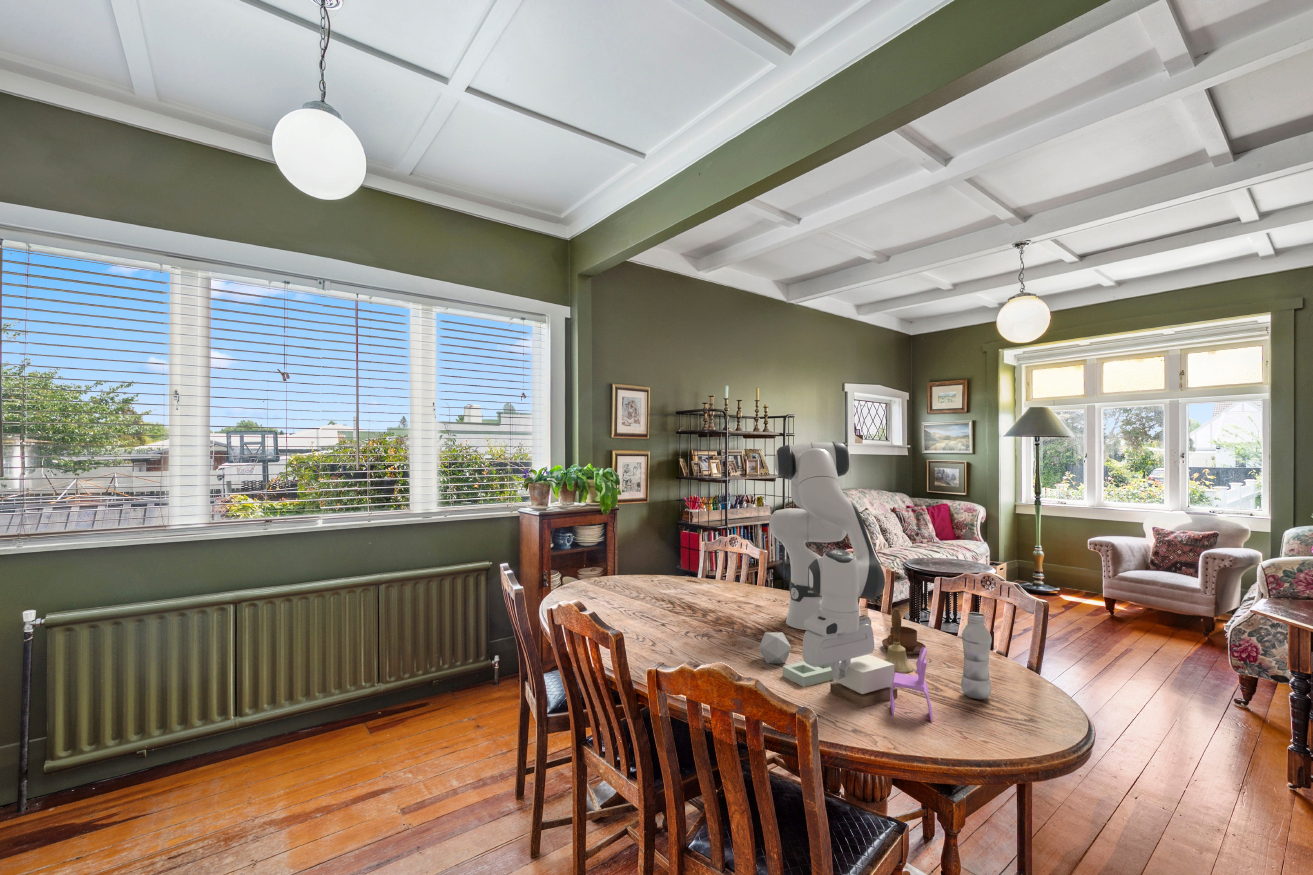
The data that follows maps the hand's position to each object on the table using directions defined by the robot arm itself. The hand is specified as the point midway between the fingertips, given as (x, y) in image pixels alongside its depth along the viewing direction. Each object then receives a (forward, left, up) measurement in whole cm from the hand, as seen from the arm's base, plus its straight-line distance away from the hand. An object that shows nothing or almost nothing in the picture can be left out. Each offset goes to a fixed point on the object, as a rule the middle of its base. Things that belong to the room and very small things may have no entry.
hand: (839, 677), depth 140 cm
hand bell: (-30, -8, -6) cm, 31 cm away
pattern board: (-8, 0, -5) cm, 10 cm away
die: (-3, -27, -6) cm, 28 cm away
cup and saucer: (-43, -16, -6) cm, 46 cm away
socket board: (-5, -14, -5) cm, 16 cm away
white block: (-8, 0, -3) cm, 8 cm away
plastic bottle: (-31, +14, -6) cm, 34 cm away
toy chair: (-10, +12, -6) cm, 17 cm away
